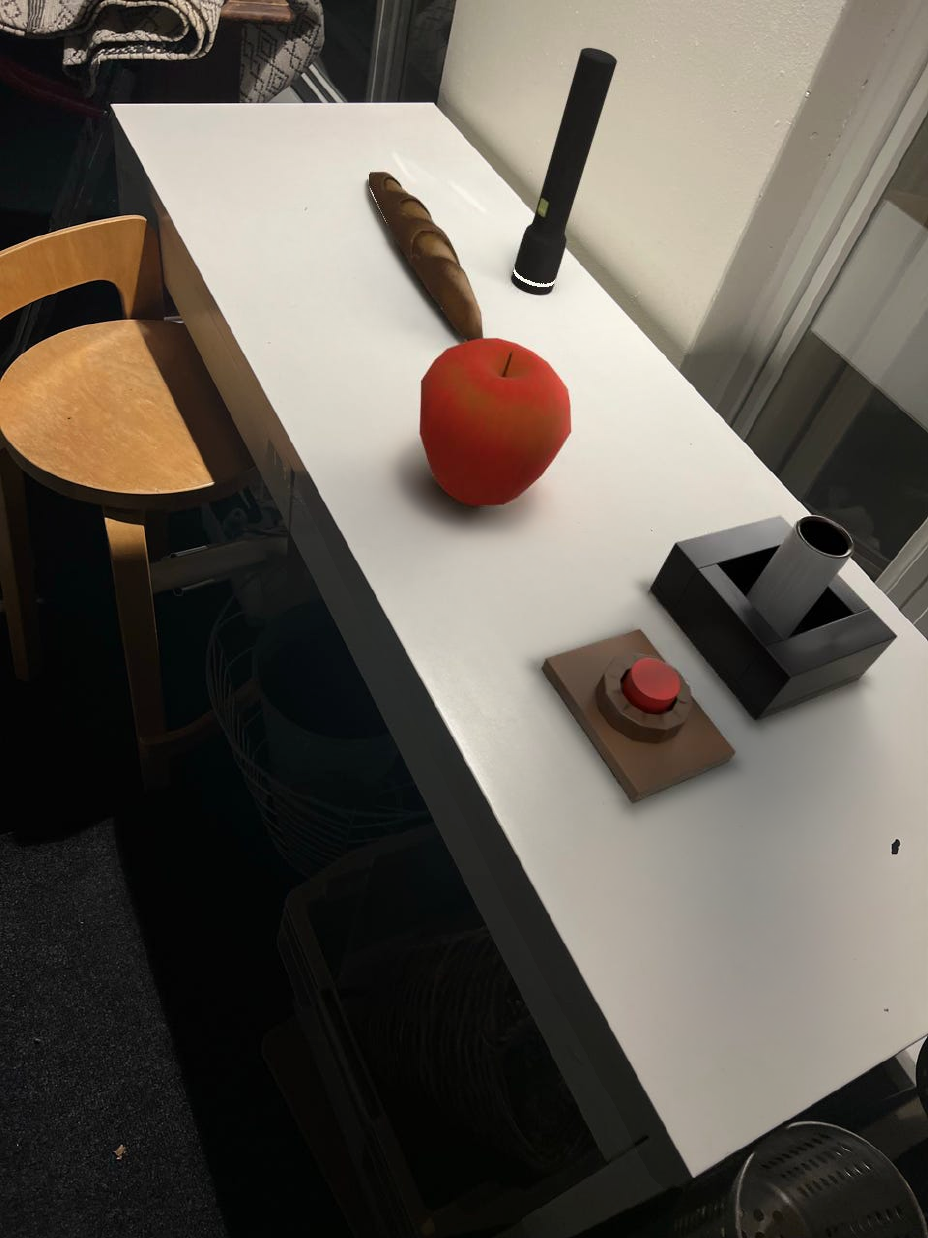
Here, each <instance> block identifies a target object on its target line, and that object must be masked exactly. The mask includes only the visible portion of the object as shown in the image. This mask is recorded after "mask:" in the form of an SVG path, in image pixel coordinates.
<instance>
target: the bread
mask: <svg viewBox="0 0 928 1238" xmlns="http://www.w3.org/2000/svg"><path fill="white" fill-rule="evenodd" d="M369 172H370V174H369V185H368V187H369V186H370V188H371V190H372V192H373V194H374V197H375V199H376V201H377V204H378V206H379V208H380V210H381V212H382V214H383V216H384V218H385V220H386V222H387V224H388V226H389V227H388V226H387V227H388V229H389V228H390V229H389V231H390V230H391V231H390V233H391V232H392V233H391V235H392V234H393V235H392V237H393V236H394V237H395V238H394V237H393V238H394V240H395V239H396V240H395V242H396V241H397V242H398V243H397V242H396V243H397V245H398V244H399V245H398V247H399V246H400V247H399V248H400V250H401V249H402V250H401V251H402V253H403V252H404V253H403V255H404V254H405V255H404V256H405V258H406V259H408V260H407V261H408V264H409V265H410V266H411V268H412V267H413V268H412V270H413V271H414V270H415V271H416V272H415V271H414V272H415V274H416V275H417V277H418V278H419V280H420V281H421V280H422V281H421V283H422V284H423V283H424V284H423V286H424V287H425V289H426V290H427V289H428V290H427V291H428V293H429V292H430V293H429V295H430V296H431V295H432V296H433V297H432V296H431V297H432V299H433V300H434V299H435V300H436V301H437V302H436V301H435V300H434V302H435V303H436V304H437V303H438V304H439V305H438V304H437V306H438V307H439V306H440V307H441V308H442V309H441V308H440V307H439V309H440V310H441V311H442V310H443V311H442V313H443V314H444V316H445V317H446V319H447V320H448V321H449V323H450V324H451V325H452V327H453V328H454V329H455V330H456V332H457V333H458V334H459V335H460V336H461V337H462V338H463V339H464V340H465V342H468V341H472V340H475V339H479V338H484V332H483V331H484V330H483V318H482V317H483V316H482V311H481V309H480V308H481V307H480V306H479V304H478V300H477V298H476V295H475V294H474V291H473V288H472V285H471V283H470V281H469V278H468V275H467V273H466V271H465V269H464V267H462V266H461V263H460V260H459V257H458V254H457V251H456V250H455V248H454V246H453V243H452V242H451V240H450V238H449V236H448V235H447V234H446V233H445V231H444V230H443V229H442V228H440V226H438V225H437V224H436V223H435V221H434V220H433V218H432V215H431V212H430V211H429V210H428V208H427V206H425V205H424V203H422V201H421V200H420V199H418V197H416V196H415V195H412V194H410V193H409V192H407V191H406V190H405V189H404V188H403V185H402V184H401V182H399V180H398V179H396V178H395V177H394V176H393V175H392V174H390V173H389V172H387V171H369ZM369 192H370V191H369ZM370 195H371V196H372V194H371V192H370ZM372 198H373V196H372ZM373 200H374V198H373ZM374 203H375V204H376V202H375V200H374ZM377 204H376V206H377ZM383 216H382V217H383ZM384 218H383V219H384ZM385 220H384V221H385ZM386 222H385V223H386ZM387 224H386V225H387Z"/></svg>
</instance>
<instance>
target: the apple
mask: <svg viewBox="0 0 928 1238" xmlns="http://www.w3.org/2000/svg"><path fill="white" fill-rule="evenodd" d="M569 392H570V391H569V388H568V387H567V386H566V384H565V383H564V382H563V380H562V379H561V377H560V375H558V373H557V372H556V370H555V369H554V368H553V367H552V366H551V364H550V363H549V362H548V361H547V360H546V359H544V358H542V357H541V356H540V355H538V354H537V353H536V352H534V351H533V350H530V349H528V348H527V347H525V346H522V345H520V344H518V343H516V342H513V341H509V340H507V339H503V338H499V337H483V338H479V339H475V340H472V341H468V342H467V341H464V342H462V343H459V344H456V345H454V346H451V347H448V348H446V349H445V350H444V351H443V352H442V353H441V354H439V355H438V356H437V357H436V358H435V359H434V360H433V362H432V363H431V365H430V366H429V368H428V369H427V371H426V372H425V374H424V376H423V377H422V379H421V380H420V406H419V407H420V409H419V410H420V411H419V414H420V415H419V436H420V439H421V443H422V447H423V450H424V453H425V456H426V460H427V463H428V467H429V469H430V472H431V474H432V476H433V478H434V481H435V483H437V484H438V485H439V486H440V487H441V489H443V490H444V491H445V492H446V493H447V494H448V495H449V496H450V497H452V498H453V499H454V500H456V501H457V502H459V503H461V504H462V505H464V506H469V507H473V508H476V507H477V508H478V507H491V506H503V505H506V504H508V503H510V502H512V501H514V500H516V499H518V498H519V497H520V496H521V495H522V494H523V493H524V492H525V491H526V490H528V489H529V488H530V487H531V486H532V485H533V484H534V483H535V482H537V480H539V479H540V478H541V477H542V476H543V475H544V473H545V472H546V471H547V470H548V469H549V467H550V466H551V465H552V463H553V462H554V461H555V459H556V457H557V455H558V454H559V452H560V451H561V449H562V447H563V446H564V444H565V443H566V441H567V440H568V438H569V436H570V435H571V433H572V410H571V407H572V406H571V399H570V393H569Z"/></svg>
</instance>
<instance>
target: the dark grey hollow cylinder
mask: <svg viewBox="0 0 928 1238" xmlns="http://www.w3.org/2000/svg"><path fill="white" fill-rule="evenodd" d="M792 527H793V528H792V529H791V531H790V532H789V534H788V535H787V537H786V538H785V539H784V541H783V542H782V544H781V545H780V547H779V548H778V550H777V551H776V553H775V554H774V556H773V557H772V559H771V560H770V562H769V563H768V565H767V566H766V568H765V569H764V571H763V572H762V574H761V575H760V576H759V578H758V579H757V581H756V582H755V584H754V585H753V587H752V588H751V590H750V591H749V593H748V594H747V596H746V598H747V599H748V600H749V602H750V603H751V604H752V605H753V606H754V607H755V608H756V610H757V611H758V612H759V613H760V614H761V615H762V616H763V618H764V619H765V620H766V621H767V622H768V623H769V624H770V626H771V627H772V628H773V629H774V630H775V631H776V632H777V634H778V635H779V636H780V637H781V638H782V640H784V639H787V638H788V637H789V636H790V635H791V633H792V632H793V631H794V629H795V628H796V627H797V626H798V624H799V623H800V622H801V620H802V619H803V618H804V616H805V615H806V614H807V613H808V611H809V610H810V609H811V607H812V606H813V605H814V603H815V602H816V601H817V599H818V598H819V597H820V596H821V594H822V593H823V592H824V590H825V589H826V588H827V586H828V585H829V584H830V583H831V581H832V580H833V579H834V577H835V576H836V575H837V574H839V572H840V571H841V570H842V568H844V566H845V564H846V563H847V562H848V560H849V559H850V558H851V557H852V555H853V553H854V551H855V544H854V542H853V538H852V537H851V536H850V534H849V533H848V532H847V530H845V529H844V528H843V527H842V526H841V525H839V524H838V523H837V522H835V521H833V520H831V519H829V518H826V517H824V516H819V515H814V514H813V515H812V514H809V515H808V514H807V515H804V516H802V517H799V518H798V519H797V520H796V521H795V523H794V525H793V526H792Z"/></svg>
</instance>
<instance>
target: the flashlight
mask: <svg viewBox="0 0 928 1238" xmlns="http://www.w3.org/2000/svg"><path fill="white" fill-rule="evenodd" d="M617 64H618V60H617V59H616V57H615V56H614V55H613V54H612V53H609V52H607V51H605V50H602V49H599V48H594V47H585V48H584V47H583V48H581V50H580V52H579V56H578V60H577V62H576V67H575V70H574V74H573V77H572V81H571V84H570V88H569V91H568V95H567V98H566V102H565V106H564V109H563V113H562V116H561V119H560V123H559V127H558V131H557V134H556V138H555V141H554V144H553V148H552V152H551V155H550V159H549V163H548V166H547V170H546V173H545V178H544V181H543V184H542V187H541V192H540V195H539V198H538V201H537V206H536V209H535V213H534V216H533V219H532V222H531V223H530V224H529V225H527V227H526V228H525V229H524V232H523V234H522V238H521V241H520V244H519V248H518V252H517V254H516V255H517V256H516V258H515V263H514V266H515V270H516V272H517V273H518V274H519V275H520V276H522V277H523V278H524V279H527V280H530V281H532V282H535V283H540V284H541V283H542V284H543V283H544V284H547V283H551V282H553V281H554V280H555V279H556V280H557V277H558V273H559V271H560V267H561V264H562V260H563V257H564V254H565V250H566V246H567V241H568V240H567V236H566V234H565V233H566V229H567V225H568V222H569V218H570V215H571V212H572V209H573V205H574V202H575V199H576V195H577V192H578V189H579V186H580V183H581V180H582V176H583V174H584V170H585V167H586V163H587V160H588V157H589V154H590V150H591V148H592V144H593V141H594V137H595V134H596V132H597V129H598V125H599V122H600V119H601V115H602V113H603V108H604V106H605V103H606V99H607V95H608V92H609V89H610V86H611V83H612V79H613V76H614V73H615V70H616V67H617ZM510 278H511V282H512V283H513V285H514V286H515V287H516V288H518V289H519V290H521V291H523V292H525V293H528V294H532V295H537V296H541V295H542V296H543V295H544V296H545V295H549V294H550V293H551V292H552V291H553V289H554V287H555V283H554V284H553V285H552V286H549V287H537V286H532V285H529V284H527V283H525V282H523V281H521V280H520V279H518V278H517V277H516V276H515V274H514V272H513V271H512V272H511V277H510ZM556 280H555V281H556Z"/></svg>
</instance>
